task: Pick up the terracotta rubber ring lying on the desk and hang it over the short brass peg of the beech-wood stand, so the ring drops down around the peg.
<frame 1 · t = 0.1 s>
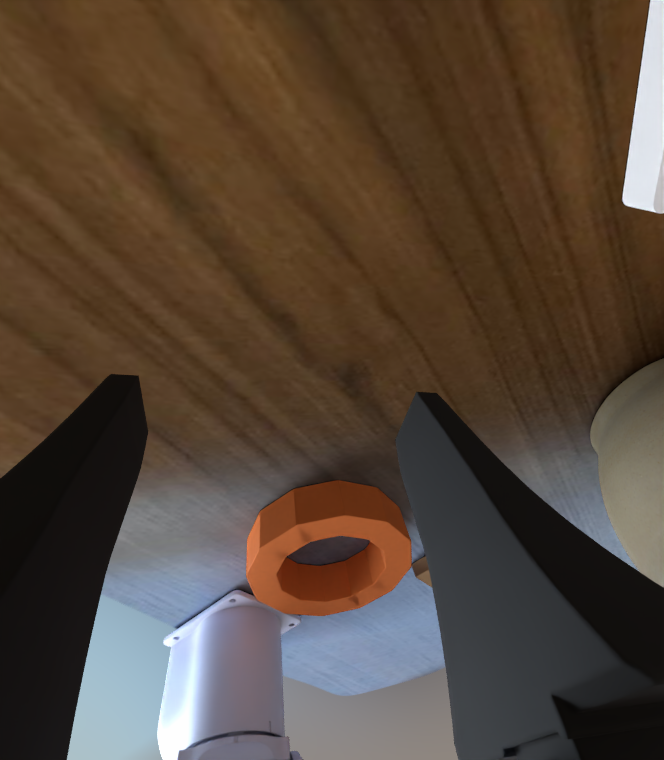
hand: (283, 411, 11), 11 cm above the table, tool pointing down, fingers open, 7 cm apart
peg stand: (486, 557, 36), on the table
planter bowl: (648, 407, 29), on the table
rubber ring: (326, 535, 31), on the table
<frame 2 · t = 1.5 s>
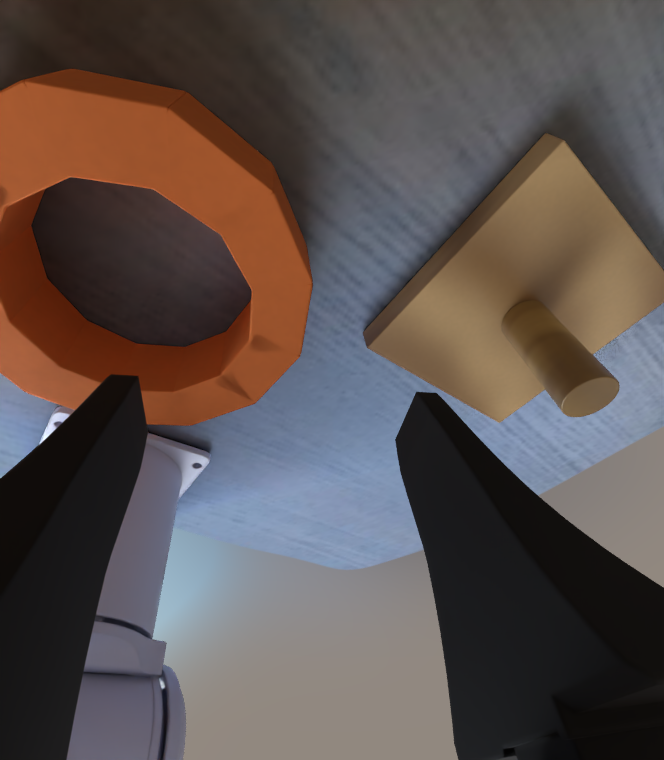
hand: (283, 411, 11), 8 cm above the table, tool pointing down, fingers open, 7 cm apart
peg stand: (511, 305, 19), on the table
rubber ring: (151, 265, 15), on the table
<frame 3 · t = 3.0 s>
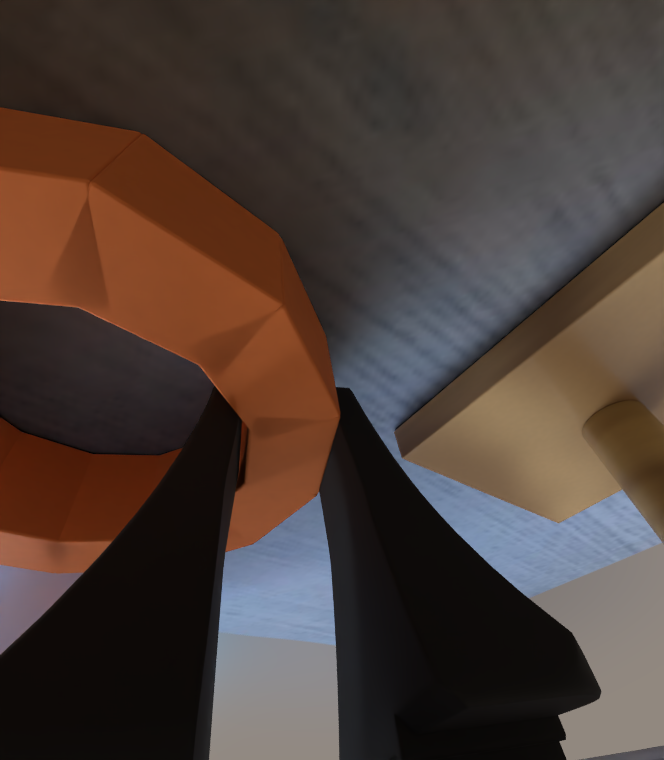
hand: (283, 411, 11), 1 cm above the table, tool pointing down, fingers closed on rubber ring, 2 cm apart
peg stand: (590, 395, 14), on the table
rubber ring: (106, 366, 11), on the table, touching gripper
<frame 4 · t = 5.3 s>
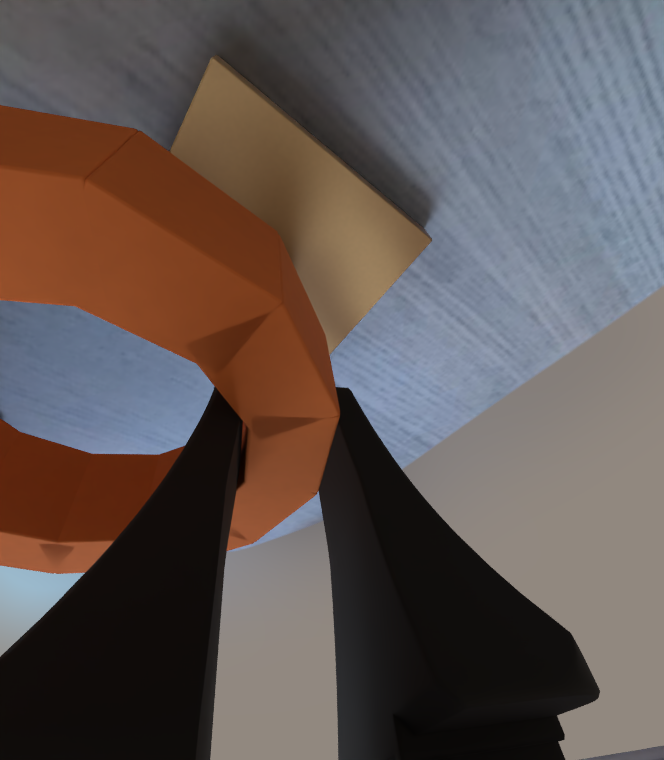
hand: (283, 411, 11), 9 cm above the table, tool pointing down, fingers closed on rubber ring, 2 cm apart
peg stand: (268, 257, 18), on the table
rubber ring: (105, 365, 11), point 8 cm above the table, touching gripper
when the fingers open (3 cm above the table, at t = 7.8 s): rubber ring stays where it is, resting on peg stand.
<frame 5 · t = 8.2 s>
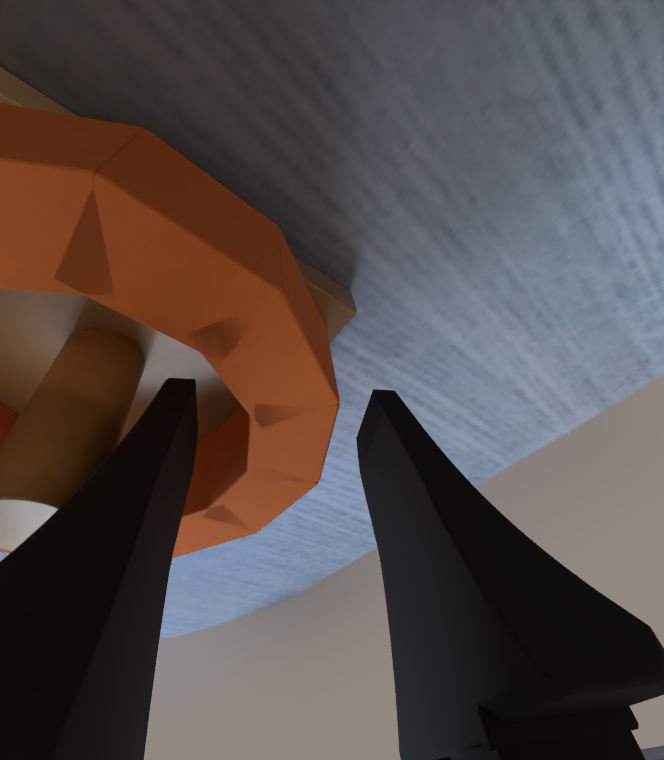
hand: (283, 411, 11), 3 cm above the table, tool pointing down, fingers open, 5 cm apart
peg stand: (118, 333, 12), on the table
rubber ring: (112, 358, 11), point 1 cm above the table, touching peg stand
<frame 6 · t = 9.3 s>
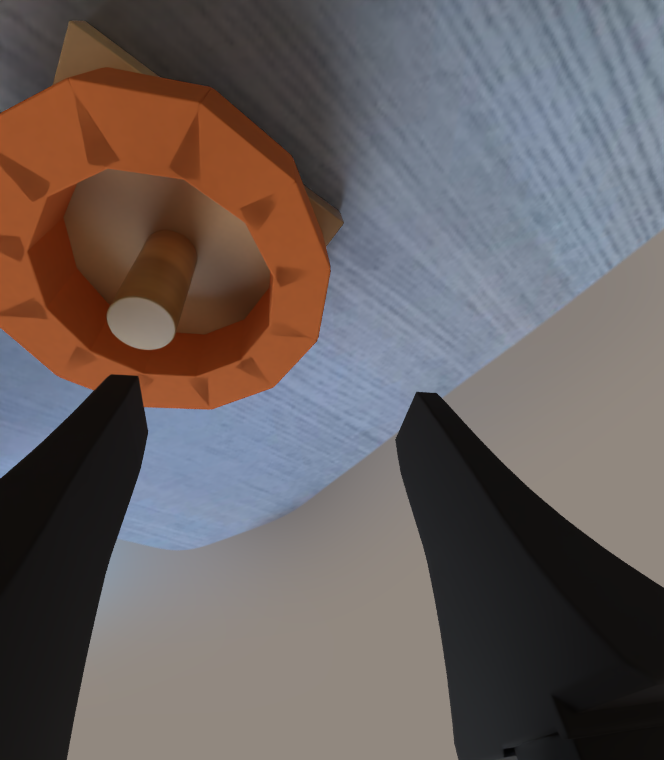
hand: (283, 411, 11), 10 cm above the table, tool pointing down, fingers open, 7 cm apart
peg stand: (176, 242, 17), on the table
rubber ring: (175, 254, 16), point 1 cm above the table, touching peg stand
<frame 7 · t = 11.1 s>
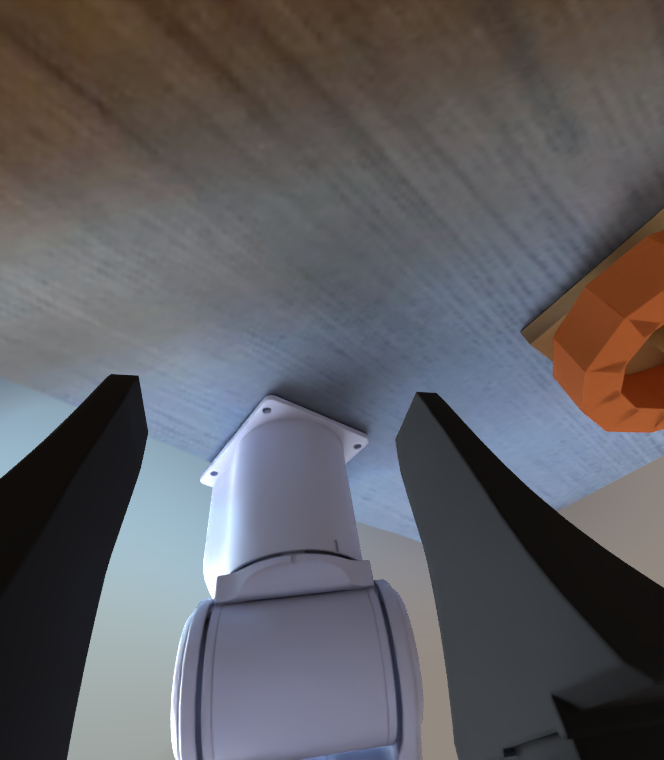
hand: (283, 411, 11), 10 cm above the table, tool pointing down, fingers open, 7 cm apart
peg stand: (642, 308, 23), on the table
rubber ring: (659, 320, 22), point 1 cm above the table, touching peg stand
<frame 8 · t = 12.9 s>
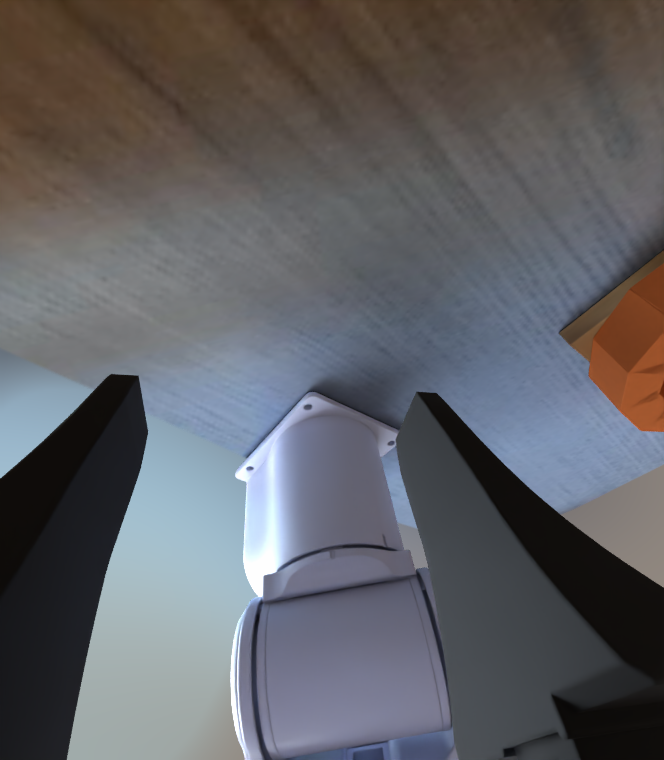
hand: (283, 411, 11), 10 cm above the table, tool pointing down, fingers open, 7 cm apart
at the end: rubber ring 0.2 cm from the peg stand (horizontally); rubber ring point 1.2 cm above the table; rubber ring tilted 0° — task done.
